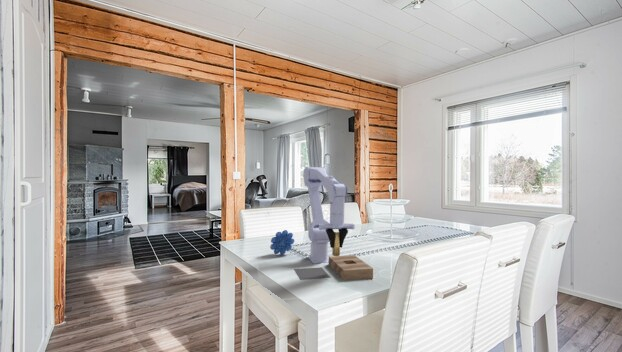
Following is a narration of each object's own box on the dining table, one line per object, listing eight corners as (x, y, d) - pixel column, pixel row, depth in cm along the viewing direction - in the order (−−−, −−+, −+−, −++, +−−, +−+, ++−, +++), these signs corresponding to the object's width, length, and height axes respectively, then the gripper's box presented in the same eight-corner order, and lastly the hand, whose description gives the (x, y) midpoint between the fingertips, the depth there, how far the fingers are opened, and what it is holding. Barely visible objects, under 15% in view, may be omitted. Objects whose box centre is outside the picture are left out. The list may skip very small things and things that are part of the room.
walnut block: (328, 265, 125) (328, 256, 125) (354, 264, 128) (354, 255, 128) (343, 281, 108) (343, 270, 108) (372, 278, 111) (373, 268, 111)
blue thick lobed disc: (293, 251, 145) (293, 228, 145) (294, 255, 139) (295, 230, 139) (269, 252, 143) (270, 228, 143) (270, 256, 137) (270, 231, 137)
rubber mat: (293, 270, 118) (293, 269, 118) (321, 268, 121) (321, 267, 121) (300, 281, 106) (300, 279, 106) (330, 278, 110) (330, 277, 110)
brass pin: (331, 254, 117) (331, 232, 117) (338, 253, 118) (338, 231, 118) (333, 256, 114) (334, 233, 114) (340, 255, 115) (341, 233, 115)
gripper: (322, 215, 110) (321, 250, 111) (357, 214, 114) (356, 249, 114) (317, 212, 117) (316, 245, 117) (351, 212, 121) (350, 244, 121)
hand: (336, 247), depth 116 cm, fingers closed on brass pin, 3 cm apart
